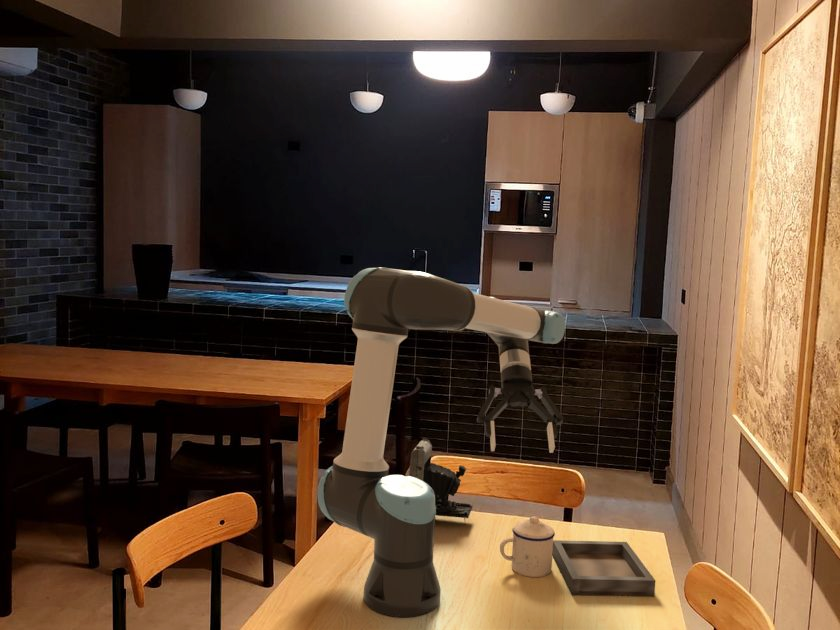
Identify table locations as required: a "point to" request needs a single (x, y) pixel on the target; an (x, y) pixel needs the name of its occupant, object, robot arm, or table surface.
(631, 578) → the tray
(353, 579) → the table surface
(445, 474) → the vintage camera
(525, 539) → the teacup with lid
